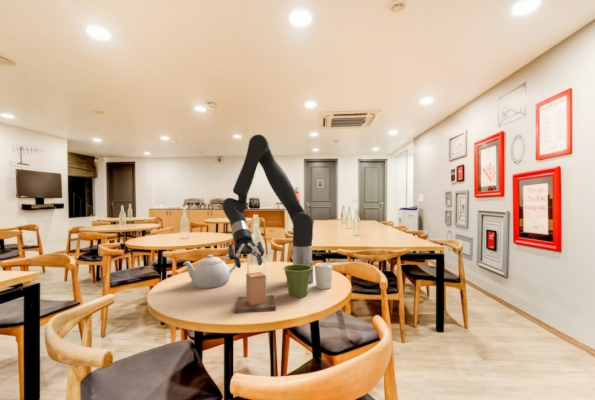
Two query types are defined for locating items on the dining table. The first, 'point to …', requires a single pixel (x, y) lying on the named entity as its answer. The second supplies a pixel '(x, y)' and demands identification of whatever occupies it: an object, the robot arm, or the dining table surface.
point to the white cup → (323, 275)
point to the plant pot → (297, 279)
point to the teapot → (209, 272)
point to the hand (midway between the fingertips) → (250, 265)
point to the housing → (255, 288)
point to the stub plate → (246, 307)
